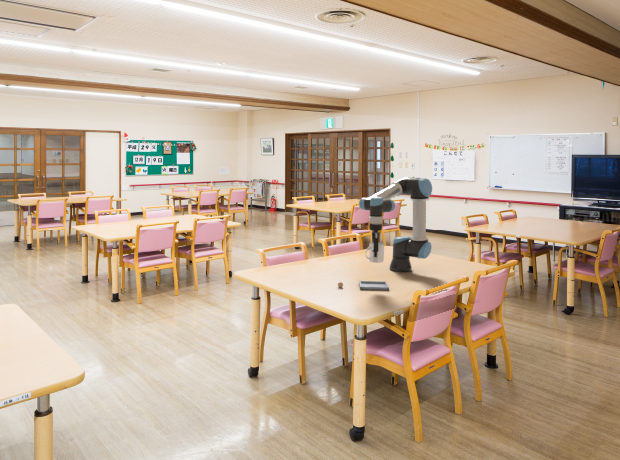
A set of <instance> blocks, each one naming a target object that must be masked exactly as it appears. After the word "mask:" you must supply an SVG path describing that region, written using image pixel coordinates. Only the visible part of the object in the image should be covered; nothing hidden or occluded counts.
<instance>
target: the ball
mask: <svg viewBox="0 0 620 460" xmlns="http://www.w3.org/2000/svg"><path fill="white" fill-rule="evenodd" d="M343 286H344V283H343V282H342V281H339V282H338V283H337V287H338V288H343Z"/></svg>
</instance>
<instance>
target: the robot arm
mask: <svg viewBox="0 0 620 460" xmlns="http://www.w3.org/2000/svg"><path fill="white" fill-rule="evenodd" d="M432 193H433V186H432V182H431V181H430V179H428V178H425V177H403V178H400V179H398V180H396V181H394V182H392V183H391V184H390V185H389V186H388V187H386V188H383V189H381V190H380V191H379V192H376V193H374V194H372V195H371V196H369V197H361V198H360V199H359V202H358V204H359V205H358V206H359V209H360V210H363V211H369V217H368V220H369V227H368V228H369V231H371V243H374V250H372V252H373V262H372V263H374V262H377V261H378V243H379V241H380V240H379V238H380V237H379V236H380V233H379V231H382V230H383V214H384V213H390V212H393V211H395V208H396V203H395V202H394V200H393V198H395V197H399V196H401V195H402V196H403V195H406V196H410V200H411V201H412V236H398V237H395V238H393V240H392V241H393V242H392V259H391V261H390V265H389V270H390V271H393V272H398V273H399V272H401V273H408V272H411V271H412V264H411V261H410V257H412V258H417V259H427V258H428V257H429V256H430V255H431V252H432V248H433V247H432V243H431V242H430V241H429V238H428V237H427V232H426V231H427V230H426V229H427V201H428V200H429V197H430V196H431V195H432Z"/></svg>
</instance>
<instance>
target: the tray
mask: <svg viewBox="0 0 620 460" xmlns="http://www.w3.org/2000/svg"><path fill="white" fill-rule="evenodd" d="M358 286H359V290H360V291H363V290H364V291H365V290H366V291H390V286H389V284H388V282H387V281H386V280H385V281H382V280H358Z"/></svg>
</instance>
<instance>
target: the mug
mask: <svg viewBox="0 0 620 460" xmlns="http://www.w3.org/2000/svg"><path fill="white" fill-rule="evenodd" d="M372 250H374V243H372V242H370V243H369V246H368V247H367V248H366V250H365V258H366V259H367V260H369V262H370V263H374V264H375V263H378V264H379V263H383V262H384V259H385V258H384V257H385V243H383V242H378V261H377V262H373V252H372ZM368 251H369V252H368ZM367 252H368V254H369V256H367Z"/></svg>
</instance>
